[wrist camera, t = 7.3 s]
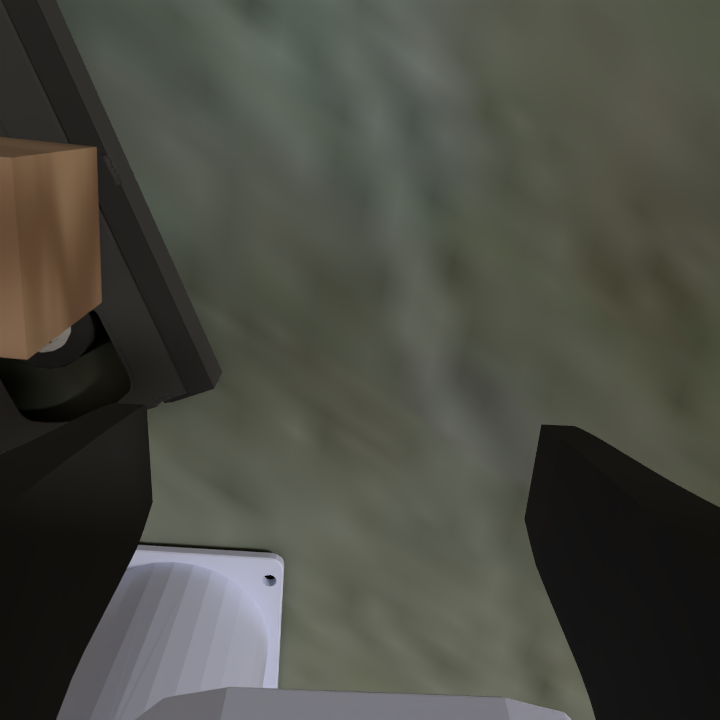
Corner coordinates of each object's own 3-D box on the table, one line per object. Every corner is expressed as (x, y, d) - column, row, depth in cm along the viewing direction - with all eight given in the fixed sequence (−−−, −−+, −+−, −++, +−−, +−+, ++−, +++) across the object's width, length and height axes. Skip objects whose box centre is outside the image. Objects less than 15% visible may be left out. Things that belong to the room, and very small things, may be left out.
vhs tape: (-224, 11, 19) (-287, 1, 17) (22, -92, 18) (-16, -115, 16) (22, 431, 24) (-6, 459, 22) (225, 365, 23) (214, 388, 21)
